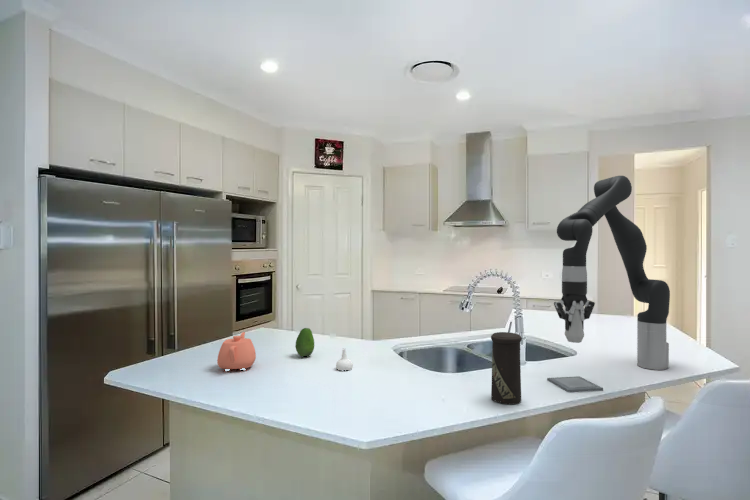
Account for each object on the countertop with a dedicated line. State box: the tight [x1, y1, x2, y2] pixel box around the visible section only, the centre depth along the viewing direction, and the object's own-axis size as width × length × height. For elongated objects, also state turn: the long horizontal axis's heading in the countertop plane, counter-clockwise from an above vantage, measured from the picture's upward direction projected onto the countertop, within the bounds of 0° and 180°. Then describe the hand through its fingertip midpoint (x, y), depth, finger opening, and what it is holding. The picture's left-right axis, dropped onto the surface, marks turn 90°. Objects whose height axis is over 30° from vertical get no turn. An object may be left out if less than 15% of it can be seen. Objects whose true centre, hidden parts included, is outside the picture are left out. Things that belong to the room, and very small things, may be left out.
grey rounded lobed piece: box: [564, 303, 585, 344], centre depth 137 cm, size 6×6×13 cm
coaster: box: [546, 375, 604, 393], centre depth 137 cm, size 12×12×1 cm
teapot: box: [216, 331, 257, 370], centre depth 158 cm, size 13×20×12 cm, turn 5°
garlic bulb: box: [335, 348, 354, 371], centre depth 156 cm, size 6×6×8 cm
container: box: [490, 331, 523, 405], centre depth 124 cm, size 9×9×20 cm
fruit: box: [294, 327, 315, 357], centre depth 173 cm, size 8×8×12 cm
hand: (574, 331), depth 137 cm, fingers closed on grey rounded lobed piece, 3 cm apart
